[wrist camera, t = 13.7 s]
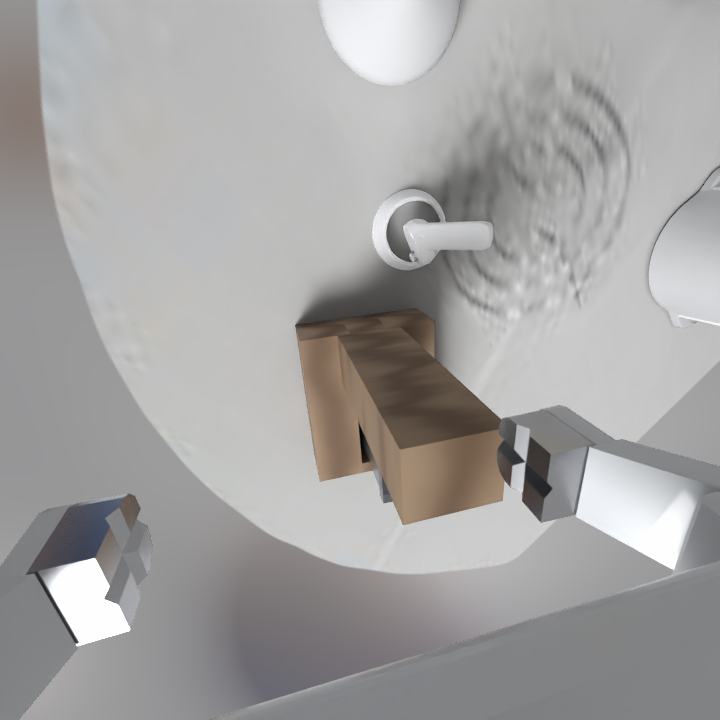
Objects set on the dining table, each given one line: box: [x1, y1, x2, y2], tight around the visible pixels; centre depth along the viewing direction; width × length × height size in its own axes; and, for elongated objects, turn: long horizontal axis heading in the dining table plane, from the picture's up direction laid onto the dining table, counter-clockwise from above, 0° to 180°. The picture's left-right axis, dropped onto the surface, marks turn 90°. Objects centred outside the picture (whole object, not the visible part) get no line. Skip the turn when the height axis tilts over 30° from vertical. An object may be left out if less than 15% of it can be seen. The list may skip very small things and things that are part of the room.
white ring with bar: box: [372, 189, 493, 270], centre depth 36 cm, size 8×12×7 cm
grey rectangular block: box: [358, 421, 393, 503], centre depth 39 cm, size 2×8×10 cm, turn 5°
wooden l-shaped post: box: [295, 308, 504, 525], centre depth 33 cm, size 13×16×23 cm
